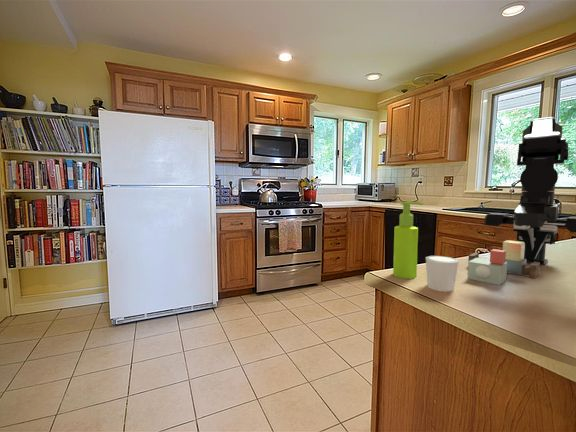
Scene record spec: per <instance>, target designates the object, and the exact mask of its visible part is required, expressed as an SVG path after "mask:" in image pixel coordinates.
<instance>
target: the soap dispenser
mask: <svg viewBox="0 0 576 432" xmlns="http://www.w3.org/2000/svg"><path fill="white" fill-rule="evenodd" d="M400 205H402V207H403V208H402V212H401V213H400V214H399V222H398V223H399V224H398V225H396V226H394V228H393V229H394V230H393V231H394V235H393V236H394V237H393V268H392V269H393V270H392V273H393V276H394V277H396V278H400V279H415V278H417V275H418V274H417V273H418V272H417V271H418V243H419V242H418V241H419V227H418V226H417V227H416V226H414V214H413V213H411V205H418V206H423V205H424V203H423V202H420V201H400Z"/></svg>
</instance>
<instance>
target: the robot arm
mask: <svg viewBox="0 0 576 432" xmlns="http://www.w3.org/2000/svg"><path fill="white" fill-rule="evenodd" d="M568 158H569V143H568V142H567V139H566V138H564V137H563V126H562V125H560V124H559V123H558V122H556V117H553V116H549V117H541V118H540V117H539V118H534V119H532V120H530V124H529V125H528V126H527V127H526V128H524V129H523V131H522V138H521V141H519V142H518V152H517V159H516V166H517V167H519V166H525V168H524V170H523V171H521V174H520V178H519V180H520V183H521V191H520V192H521V193H520V194H521V195H520V198H519V203H518V205H517V206H516V207H515V209H514V211H513V214H514V215H513V216H511V215H510V213H502V212H491V213H487V214H486V215H485V217H484V223H483V225H484V226H489V227H501V226H502V225H506V224H507V225H513V228H512V231H513V232H517V233H516V241H520V242H524V243H525V250H524V259H527V262H526V263H530V264H532V263H533V262H540V265H545V264H547V263H548V261H549V259H546V248H547V247H546V246H547V245H555V244H556V238H557V237H556V236H557V233H559V230H558V228H562V229H567V231H569V232H570V233H576V216H569V217H567V218H566V219H560V218H559V219H558V217H559V206H558V203H557V204H556V203H555V192H556V191H555V189H556V184H557V183H558V181H559V180H558V179H559V174H558V172H557V170H556V169H555V167H554V165H559V164H561V165H564V163H565V161H569V160H568Z"/></svg>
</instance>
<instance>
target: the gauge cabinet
mask: <svg viewBox="0 0 576 432" xmlns="http://www.w3.org/2000/svg"><path fill="white" fill-rule="evenodd" d="M507 273H508V272H507V262H505V263H504V264H497V263H491V262H490V259H488V258H487V259H486V258H480V257H479V258H475V259H473V260H471V261H468V262H467V279H469V280H474V281H478V282H483V283H488V284H493V285H497V286H500V285H502V283H504V282H505V281H506V280H507Z"/></svg>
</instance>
